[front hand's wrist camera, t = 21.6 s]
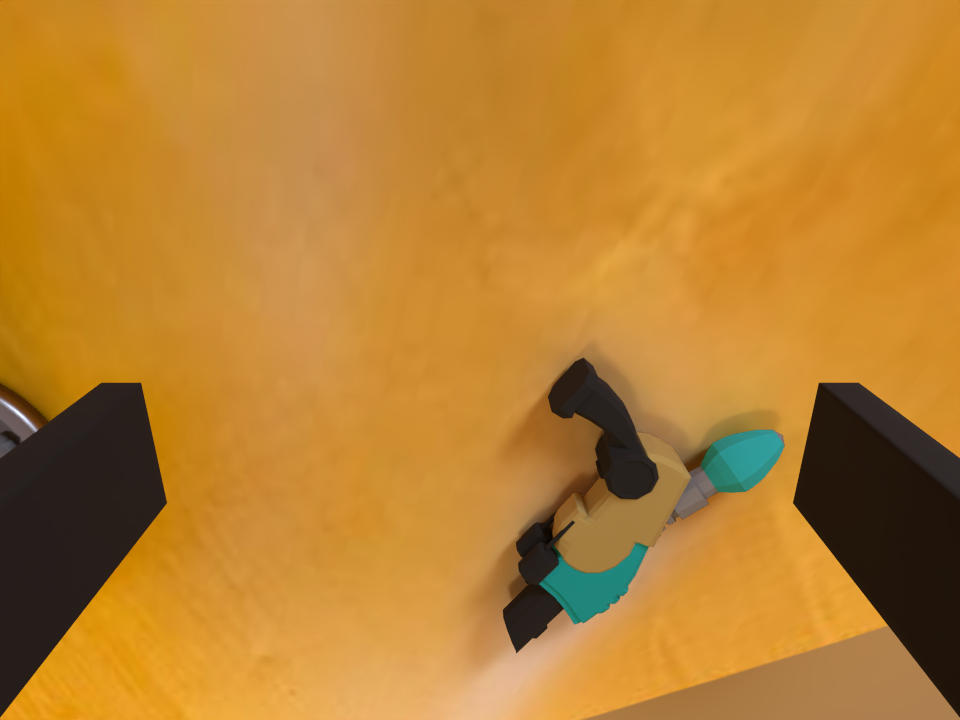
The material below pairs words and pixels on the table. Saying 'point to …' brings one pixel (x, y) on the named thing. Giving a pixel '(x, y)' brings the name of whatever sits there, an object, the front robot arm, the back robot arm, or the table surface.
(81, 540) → the front robot arm
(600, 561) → the toy gun
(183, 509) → the table surface
